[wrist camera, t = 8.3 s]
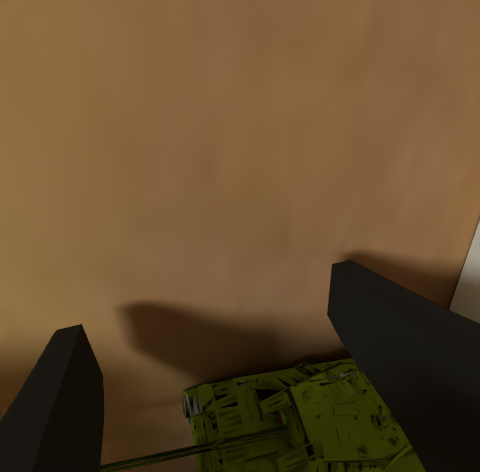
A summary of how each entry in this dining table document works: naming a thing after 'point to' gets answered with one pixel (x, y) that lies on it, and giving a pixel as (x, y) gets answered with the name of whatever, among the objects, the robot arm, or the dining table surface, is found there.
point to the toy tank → (292, 424)
